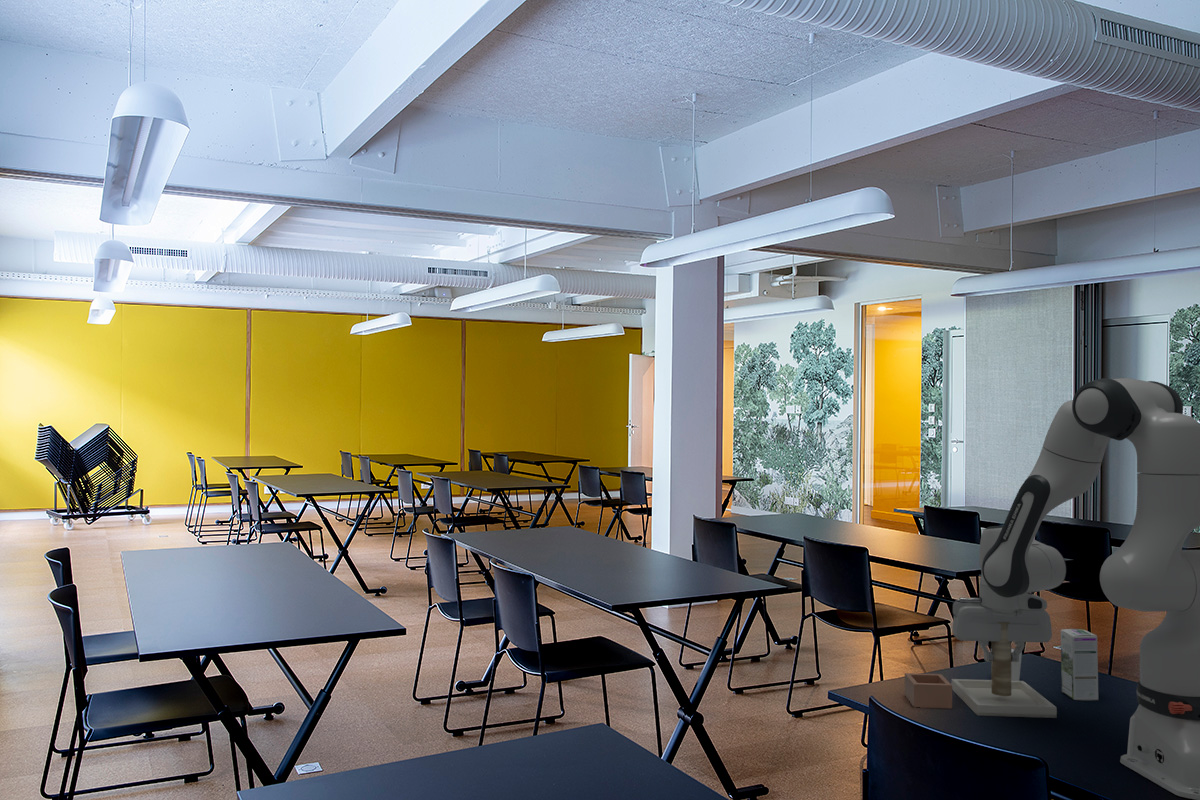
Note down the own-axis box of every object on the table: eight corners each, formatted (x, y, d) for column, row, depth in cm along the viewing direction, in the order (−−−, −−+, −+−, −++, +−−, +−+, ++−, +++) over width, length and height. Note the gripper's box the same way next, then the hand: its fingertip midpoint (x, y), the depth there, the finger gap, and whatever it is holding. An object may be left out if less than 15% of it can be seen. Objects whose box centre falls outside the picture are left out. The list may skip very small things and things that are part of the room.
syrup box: (1099, 700, 198) (1099, 635, 198) (1072, 700, 198) (1072, 634, 198) (1086, 692, 203) (1085, 628, 203) (1059, 692, 203) (1059, 628, 204)
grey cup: (1025, 685, 208) (1025, 655, 209) (994, 683, 210) (994, 653, 210) (1017, 676, 215) (1017, 647, 215) (987, 674, 217) (987, 645, 217)
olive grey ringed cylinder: (1014, 696, 194) (1014, 622, 194) (995, 696, 194) (995, 622, 195) (1007, 690, 198) (1007, 618, 198) (988, 690, 198) (988, 618, 199)
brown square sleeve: (952, 708, 192) (952, 685, 192) (914, 707, 193) (913, 684, 193) (941, 696, 200) (941, 674, 200) (904, 695, 201) (904, 673, 201)
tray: (1056, 717, 187) (1056, 707, 187) (977, 715, 188) (977, 705, 188) (1023, 690, 204) (1023, 680, 204) (951, 688, 206) (951, 679, 206)
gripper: (957, 600, 194) (957, 663, 194) (1054, 602, 192) (1055, 666, 192) (948, 594, 200) (948, 655, 200) (1043, 595, 199) (1043, 658, 198)
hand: (1001, 661), depth 196 cm, fingers closed on olive grey ringed cylinder, 4 cm apart
